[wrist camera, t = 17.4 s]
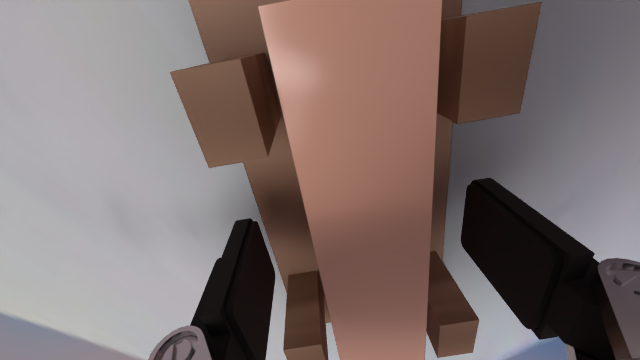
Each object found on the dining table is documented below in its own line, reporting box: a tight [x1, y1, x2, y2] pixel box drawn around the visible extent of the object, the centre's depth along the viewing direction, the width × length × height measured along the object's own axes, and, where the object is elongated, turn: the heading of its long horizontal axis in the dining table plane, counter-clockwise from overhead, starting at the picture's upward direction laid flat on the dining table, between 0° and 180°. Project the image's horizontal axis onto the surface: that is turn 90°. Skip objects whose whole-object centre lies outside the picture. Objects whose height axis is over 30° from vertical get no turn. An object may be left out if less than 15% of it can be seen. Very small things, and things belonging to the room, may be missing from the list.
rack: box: [170, 0, 542, 360], centre depth 11 cm, size 18×9×5 cm, turn 9°
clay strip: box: [258, 0, 442, 360], centre depth 11 cm, size 16×4×4 cm, turn 9°
